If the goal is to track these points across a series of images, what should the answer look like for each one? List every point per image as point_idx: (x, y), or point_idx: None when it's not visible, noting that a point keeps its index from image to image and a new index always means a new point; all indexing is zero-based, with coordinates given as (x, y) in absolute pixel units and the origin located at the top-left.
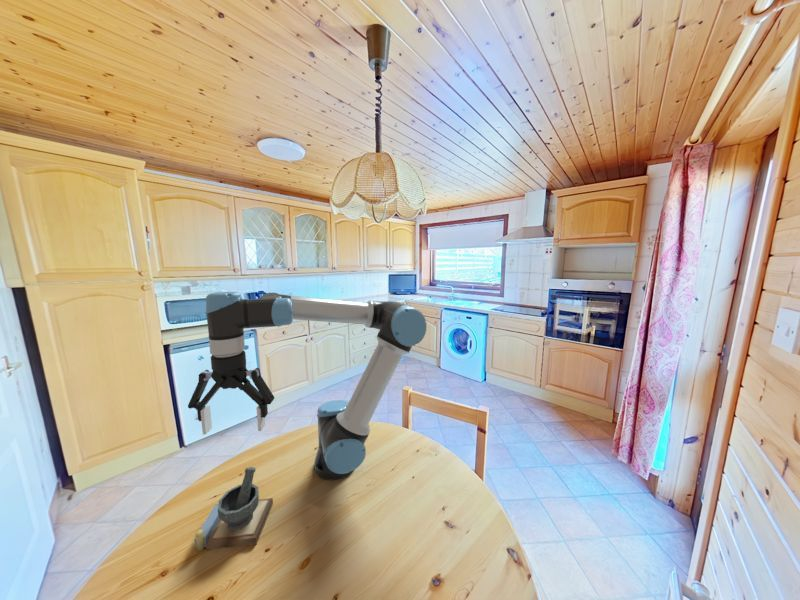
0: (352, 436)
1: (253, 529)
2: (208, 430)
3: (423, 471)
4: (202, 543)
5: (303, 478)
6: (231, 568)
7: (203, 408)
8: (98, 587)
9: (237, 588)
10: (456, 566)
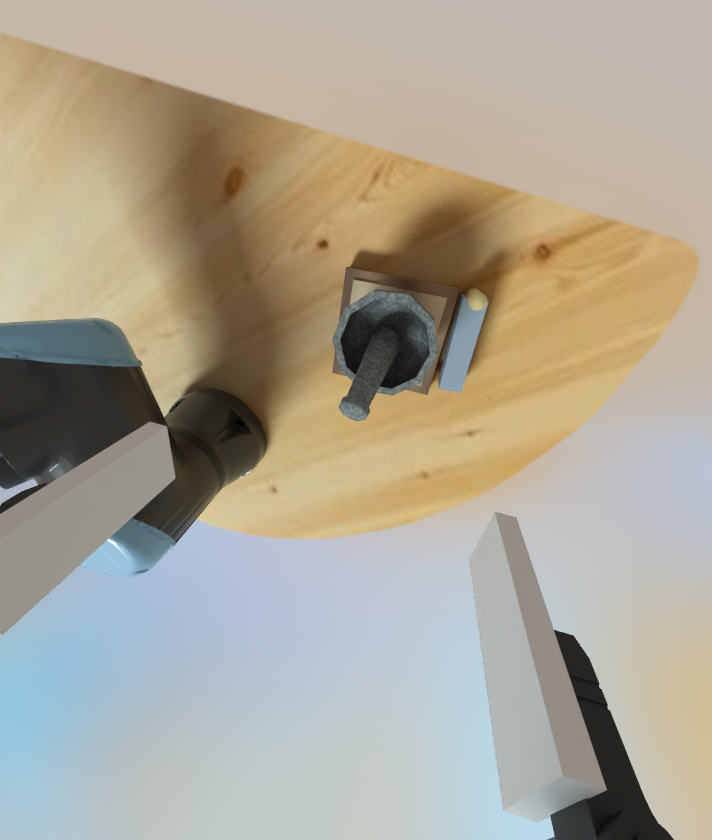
0: None
1: (355, 291)
2: (484, 540)
3: None
4: (469, 292)
5: (284, 416)
6: (392, 217)
7: (570, 805)
8: (690, 259)
9: (367, 157)
10: None
